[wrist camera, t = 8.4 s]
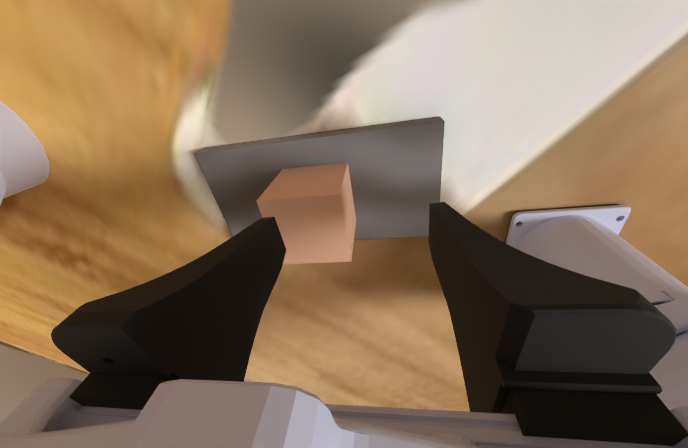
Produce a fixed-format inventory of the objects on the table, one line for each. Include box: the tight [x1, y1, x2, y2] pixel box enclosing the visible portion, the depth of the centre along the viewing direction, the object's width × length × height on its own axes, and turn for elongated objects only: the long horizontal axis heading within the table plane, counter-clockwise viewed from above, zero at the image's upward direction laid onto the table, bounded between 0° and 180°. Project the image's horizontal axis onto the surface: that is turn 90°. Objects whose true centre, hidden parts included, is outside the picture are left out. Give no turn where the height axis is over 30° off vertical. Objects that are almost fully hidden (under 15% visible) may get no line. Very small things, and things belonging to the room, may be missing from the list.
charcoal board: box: [194, 117, 444, 240], centre depth 21 cm, size 9×18×2 cm, turn 99°
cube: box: [256, 162, 356, 264], centre depth 18 cm, size 5×5×5 cm
